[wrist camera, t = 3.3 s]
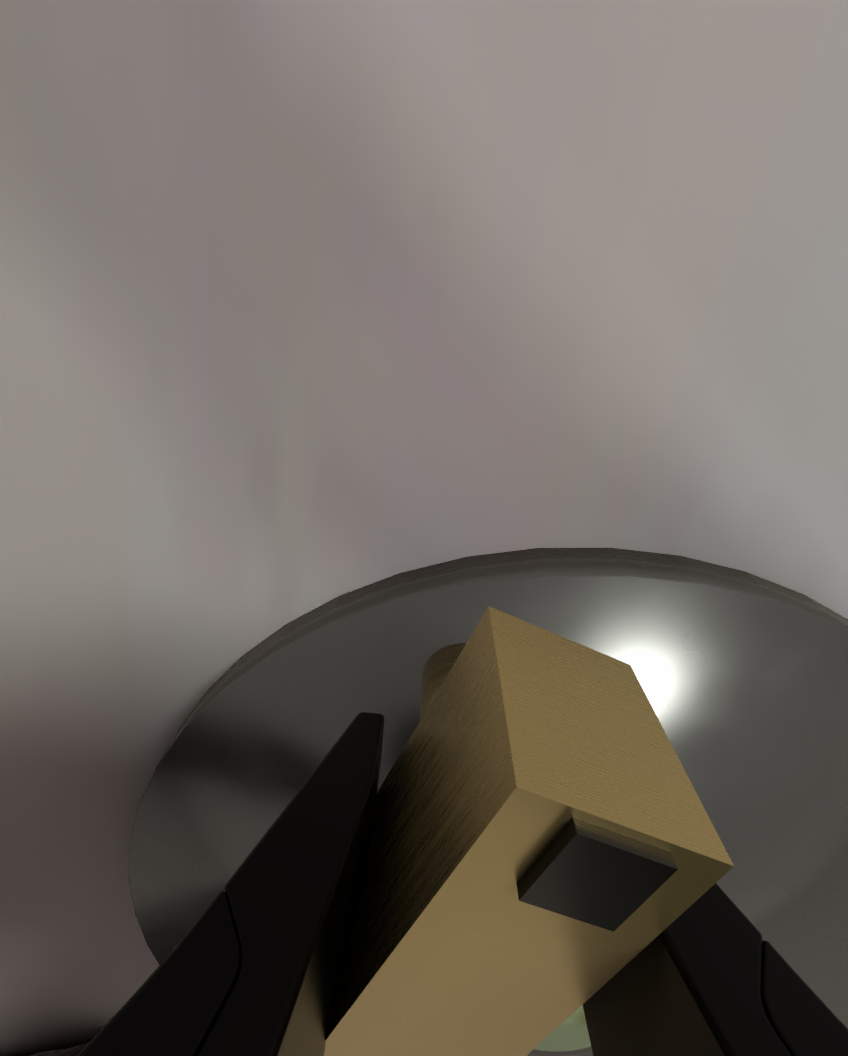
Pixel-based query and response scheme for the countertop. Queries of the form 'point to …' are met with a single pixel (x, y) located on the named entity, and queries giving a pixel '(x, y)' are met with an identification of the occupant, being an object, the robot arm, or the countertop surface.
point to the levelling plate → (588, 619)
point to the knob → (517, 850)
